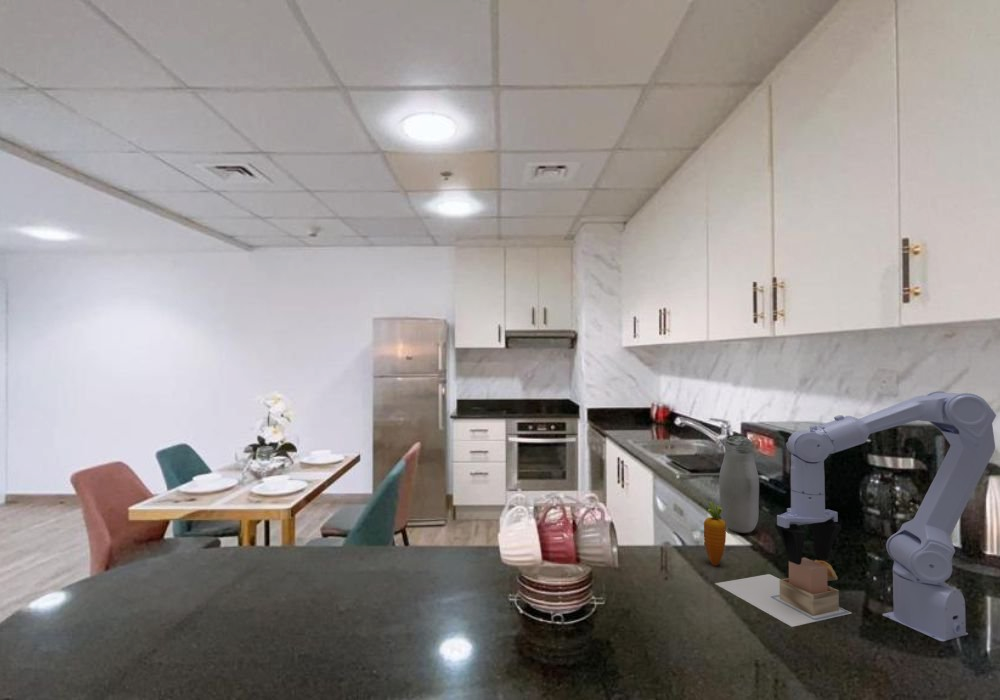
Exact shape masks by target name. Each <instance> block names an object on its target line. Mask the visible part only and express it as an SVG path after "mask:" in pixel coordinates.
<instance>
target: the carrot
mask: <svg viewBox="0 0 1000 700" xmlns="http://www.w3.org/2000/svg"><path fill="white" fill-rule="evenodd" d="M708 505H709V506H710V508H708V509H707V512H708V513H709V515H710V516H709V517H707V518H706V519H705V520H704V522H703V533H704V534H703V536H704V545H705V551H706V555H707V556H708V559H709V561H710V563H711V565H713V566H714V567H715V566H717V567H718V566H719V564H720V562H721V560H722V557H723V555H724V551H725V546H726V539H727V537H726V536H727V527H726V523H725V522H724V521H723V520H722V519H721V518H720V516H721V515H720V513H721V511H722V508H720V505H716V508H715V506H714V504H713V502H712V501H709V502H708Z"/></svg>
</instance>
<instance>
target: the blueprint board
mask: <svg viewBox="0 0 1000 700" xmlns="http://www.w3.org/2000/svg"><path fill="white" fill-rule="evenodd" d="M780 580H781V578H778V577H776V576H774V575H772V574H770V573H767V574H762V575H761V574H760V575H756V576H751V577H746V578H745V577H744V578H740V579H739V578H738V579H733V580H727V581H721V582H715V583H714V584H715V585H716V586H718V587H720V588H721V589H723V590H725V591H727V592H729V593H731V594H733V595H734V596H736V597H738V598H739V599H742V600H743V601H744V602H747V603H748V604H750V605H752V606H754V607H755V608H757V609H759V610H761V611H763V612H764V613H767V614H768V615H770V616H771V617H773V618H775V619H777V620H779V621H781V622H782V623H784V624H786V625H788V626H790V627H791V628H793V627H797V626H798V627H799V626H802V625H807V624H812V623H815V622H816V623H817V622H820V621H824V620H828V619H834V618H837V617H842V616H846V615H850V614H852V612H851V611H850V610H849V611H848V610H846V609H844V608H843V607H840V606H839V610H838V611H834V612H829V613H825V614H820V615H816V616H812V615H810V614H808V613H806V612H804V611H802V610H800V609H799V608H797V607H795V606H793V605H791V604H789V603H787V602H785V601H783V600H781V599H780Z"/></svg>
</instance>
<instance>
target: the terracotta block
mask: <svg viewBox="0 0 1000 700" xmlns="http://www.w3.org/2000/svg"><path fill="white" fill-rule="evenodd" d="M788 578H789V584H791V585H793V586H795V587H798V588H800V589H802V590H804V591H806V592H808V593H810V594H812V595H813V594H818V593H823V592H828V590H827V586H828V581H827V566H825V565H822V564H820V563H817V562H815V560H813V559H809V558H808V557H802V561H801V564H800V565H797V564H795V563H792V562H790V561H789V560H788Z"/></svg>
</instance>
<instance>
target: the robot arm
mask: <svg viewBox="0 0 1000 700" xmlns="http://www.w3.org/2000/svg"><path fill="white" fill-rule="evenodd" d="M996 417H997V414H996V413H995V411H994V410H993V408H991V406H990V405H989V403H988V402H987V401H986V400H985V399H984V398H982V397H981V396H980V395H978V394H975V393H971V392H970V393H968V392H961V393H956V392H945V391H933V392H929V393H927V394H926V395H925V394H922V395H917V396H914V397H911V398H909V399H906V400H903V401H901V402H899V403H895V404H894V405H891V406H888V407H886V408H882V409H880V410H878V411H876V412H873V413H870V414H868V415H864V416H863V417H861V418H860V417H859V418H858V417H855V416H852V415H846V416H844V415H843V414H842V415H841V414H838V415H836V416H834V417H833V418H834V420H831V421H829V422H826V423H823V424H819V425H818V426H817V425H815V424H813V425H810V426H809V431H808V430H797V431H794V432H793V433H792V434H791V435H790V436H789V437H788V440H787V442H785V445H786V448H787V451H788V452H789V453H790V507H788V508H786V512H784V513H781V514H777V515H776V522H775V523H774V527H775V529H776V531H777V533H778V535H779V537H780V538H781V540H782V543H783V546H784V547H785V552H786V555H787V559H788V562H789V561H790V562H792V563H795V564H797V565H800V564H801V561H802V558H803V549H804V545H805V544H804V543H805V540H806V538H807V536H808V534H809V532H808V531H806V530H803V529H801V528H800V527H799V526H802V525H809V527H810V530H811V533H812V534H811V535H812V539H813V548H814V555H815V557H816V558H819V559H822V560H823V561H828V560H829V557H830V554H831V550H832V547H833V544H834V542H835V540H836V538H837V536H838V534H840V532H841V530H842V525H841V524H839V523H836V522H839V521H838V519H839V517H838V514H839V513H838V511H835V510H831V509H829V508H828V509H826V491H825V488H826V487H825V484H826V482H825V479H826V477H825V476H826V475H825V460H826V459H827V458H828V456H829V455H832V454H835V453H838V452H842V451H844V450H848V449H851V448H854V447H857V446H859V445H862V444H865V443H866V442H867V441H868V438H869V436H870V435H871V434H874V433H878V432H880V431H884V430H888V429H892V428H895V427H898V426H902V425H906V424H909V423H912V422H917V421H919V422H929V423H930V424H931V425H932V426H933V427H935V428H936V429H938V430H939V431H940V432H941V434H943V435H942V436H943V437H944V438H945V440H946V441H947V442H948V443H949V445H950V446H949V449H948V451H947V452H946V455H945V456H944V459H943V460H942V462H941V464H940V466H939V468H938V470H937V472H936V474H935V477H934V478H933V480H932V482H931V484H930V486H929V488H928V490H927V491H926V494H925V496H924V498H923V499H922V502H921V503H920V506H919V507H918V509H917V512H916V514H915V516H914V517H913V519H911V520H909V521H906V522H904V523H902V524H901V527H900V528H899V530H898V531H897V532H896V533H894V534H892V535H890V536H889V538H887V541H886V544H885V546H886V551H887V554H888V555H889V557H890V558H891V559H892V560H893V566H892V596H893V597H892V598H893V599H892V603H893V606H892V607H893V611H890V612H886V613H885V612H884V613H882V614H881V615H882V616H883V617H885V618H888V619H890V620H892V621H894V622H897V623H899V624H902V625H904V626H906V627H907V628H908V627H909V628H910V629H913V630H915V631H917V632H918V633H922V634H924V635H926V636H928V637H931V638H933V639H935V640H937V641H940V642H946V641H947V642H948V641H949V640H954V639H956V638H959V637H963V636H967V635H969V633H968V632H967V628H966V622H967V621H966V600H965V597H964V595H963V593H962V591H960V590H958V589H957V588H954V587H952V586H950V585H949V584H948V583H946V582H945V581H947V580H948V579H949V578H950V577H951V575H952V573H953V562H952V561H953V556H954V555H955V552H956V549H955V546H954V544H953V543H954V542H953V540H952V537H951V536H952V534H953V532H954V530H955V528H956V526H957V524H958V522H959V520H960V518H961V517H962V515H963V513H964V511H965V508H966V506H967V505H968V503H969V501H970V499H971V497H972V495H973V493H974V492H975V489H976V488H977V485H978V484H979V482H980V480H981V478H982V476H983V473H984V472H985V470H986V469H987V467H988V465H989V462H990V460H991V458H992V456H993V455H994V453H995V449H996V443H995V441H996V440H995V436H994V435H995V434H994V428H993V423H994V421H995V419H996Z"/></svg>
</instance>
